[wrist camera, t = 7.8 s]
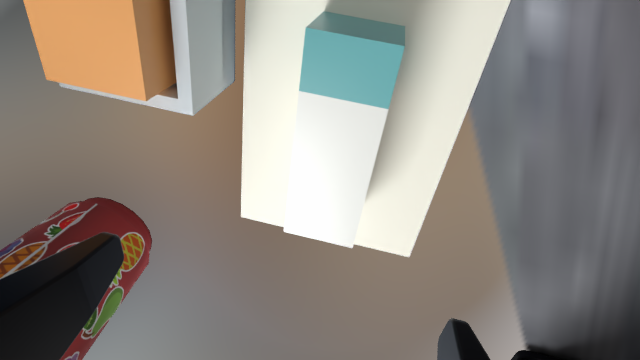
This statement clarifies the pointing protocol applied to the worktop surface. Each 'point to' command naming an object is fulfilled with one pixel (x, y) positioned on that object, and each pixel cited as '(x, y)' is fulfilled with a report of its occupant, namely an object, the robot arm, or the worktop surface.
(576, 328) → the worktop surface
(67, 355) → the smoothie
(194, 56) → the button housing
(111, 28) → the button
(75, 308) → the robot arm
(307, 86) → the milk carton
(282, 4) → the paper sheet
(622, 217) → the worktop surface
